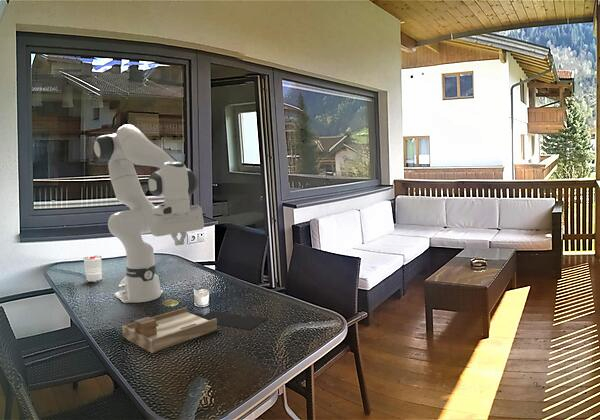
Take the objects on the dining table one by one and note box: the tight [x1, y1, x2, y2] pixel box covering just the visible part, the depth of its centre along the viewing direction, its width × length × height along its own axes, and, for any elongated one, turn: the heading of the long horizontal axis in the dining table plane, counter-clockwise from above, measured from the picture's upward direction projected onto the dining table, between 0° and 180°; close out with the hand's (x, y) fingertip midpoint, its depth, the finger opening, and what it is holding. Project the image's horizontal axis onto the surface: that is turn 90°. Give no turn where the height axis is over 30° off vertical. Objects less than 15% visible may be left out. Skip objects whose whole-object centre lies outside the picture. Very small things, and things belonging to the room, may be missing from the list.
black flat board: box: [192, 310, 269, 331], centre depth 177 cm, size 12×1×30 cm
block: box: [133, 316, 157, 337], centre depth 156 cm, size 5×5×5 cm
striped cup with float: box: [83, 255, 103, 281], centre depth 235 cm, size 10×8×12 cm
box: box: [121, 306, 218, 354], centre depth 163 cm, size 20×25×4 cm
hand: (179, 244), depth 171 cm, fingers closed
